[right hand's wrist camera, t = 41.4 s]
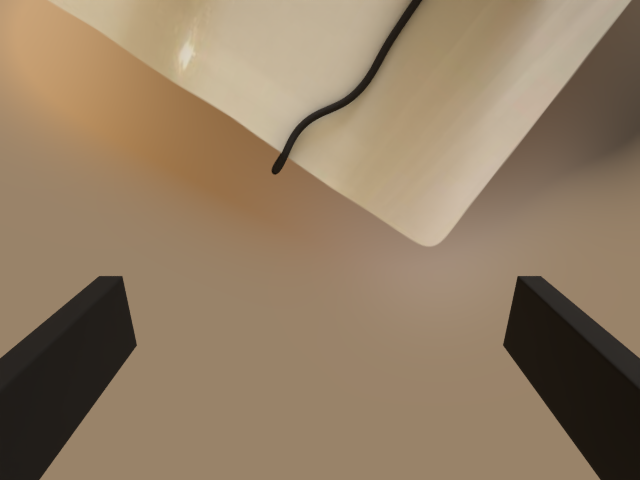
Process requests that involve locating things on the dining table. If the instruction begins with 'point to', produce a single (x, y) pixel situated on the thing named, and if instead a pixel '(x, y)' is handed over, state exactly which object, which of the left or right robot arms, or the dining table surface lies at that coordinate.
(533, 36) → the dining table surface
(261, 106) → the dining table surface
